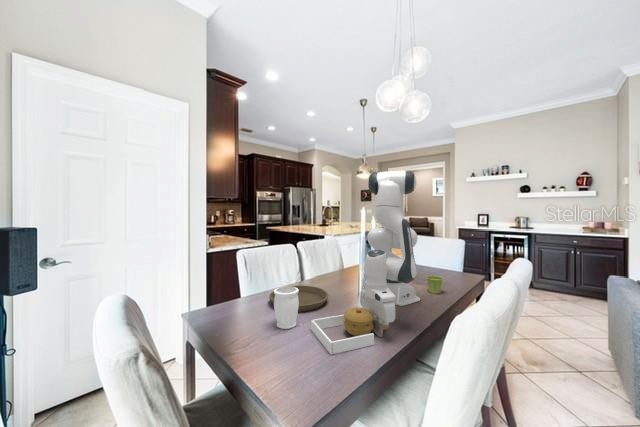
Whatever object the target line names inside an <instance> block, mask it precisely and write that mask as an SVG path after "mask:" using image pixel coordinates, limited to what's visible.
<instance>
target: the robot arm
mask: <svg viewBox="0 0 640 427" xmlns="http://www.w3.org/2000/svg"><path fill="white" fill-rule="evenodd" d="M416 187H417V177H416V176H415V173H414V172H413V171H409V170H405V171H402V170H390V171H389V170H388V171H374V172H372V173H370V174H369V177H368V179H367V188H368V191H369V192H370V193H371V194H373V195H375V196H376V199H375V209H374V212H375V214H374V215H375V219H376V221H377V223H378V224H380V225H381V226H382V227H375V228H371V229H370V230H369V231H368V233H367V236H366V237H367V238H366V239H367V242H368V244H369V245H370V247H372V248H373V250H370V251H368V252H367V253H366V255H365V256H366V257H365V260H364V261H365V263H364V265H365V266H364V275H365V281H364V285H362V287H361V290H360V294H359V295H360V296H359V305H360V306H361V308H364V309H367V310H368V311H370V312H371V313H372V315H373V317H377V319H378V322H379V323H381V324H382V322H383V321H384V322H386V323H389V324H390V323H393V322H395V320H396V306H400V307H403V306H407V305H410V304H414V303H417V302H420V301H421V298H420V297H419V296H417V295H416V291H415V290H416V289H415V287H413V286H412V285H411V284H410V283H412V282H413V281H414V280H415V279H416V277H417V274H418V273H417V264H416V261H415V255H414V249H413V248H414V247H415V246H416V245H417V243H418V234H417V232H416V231H415V230H414V229H413V228H411V227H410V224H409V221H408V220H407V219H405V214H404V212H405V211H404V209H405V208H404V205H405V199H404V195H408V194H412V193H413V192H415V188H416ZM391 249H399V250H400V254H401V256H398V255H396V254H394V253H393V252H392V251H391Z"/></svg>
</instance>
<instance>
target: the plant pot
mask: <svg viewBox="0 0 640 427" xmlns="http://www.w3.org/2000/svg"><path fill="white" fill-rule="evenodd" d="M425 279H426V282H427V286H428V292H429V293H430V294H433V295H438V294H441V292H442V285H443V280H444V278H443V277H441V276H437V275H427V276H426V277H425Z"/></svg>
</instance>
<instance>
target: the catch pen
mask: <svg viewBox="0 0 640 427" xmlns="http://www.w3.org/2000/svg"><path fill="white" fill-rule="evenodd" d="M344 321H345V319H344V314H340V315H333V316H328V317H321V318H316V319H311V320H310V322H311V323H310V330H311V331H312V333H313V334H314V336H315V337H316V338H317V339H318V341H319V342H320V343H321V345H322V346H323V347H324V348H325V350H326V351H327V352H328V353H329V354H330V355H337V354H340V353H341V354H342V353H345V352H348V351H352V350H357V349H362V348H367V347H371V346H374V345H375V334H374V332H372V333H371V332H370V333H369V334H366V335H361V336H352V337H348V338H342V339H337V340H331V339H330V338H329V337H328V335H327V334H326V333H325V332H324V331H323V330H324V329H327V328H333V327H339V326H344Z"/></svg>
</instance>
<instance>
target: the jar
mask: <svg viewBox="0 0 640 427" xmlns="http://www.w3.org/2000/svg"><path fill="white" fill-rule="evenodd" d="M273 291H274V294H275V298H274V304H273V308H274V315H275V316H274V317H275V319H276V321H277V322H276V327H277V328H279V329H284V330H287V329H293V328H294V327H295V326H296V325H297V321H296V320H297V317H298V313H299V312H298V307H299V300H298V294H297V293H298V288H296V287H288V286H281V287H277V288H275V289H273Z"/></svg>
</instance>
